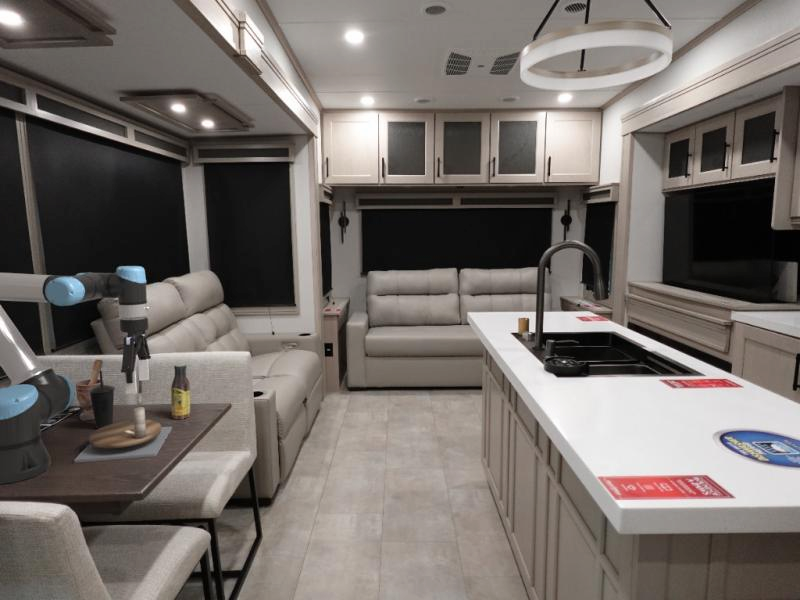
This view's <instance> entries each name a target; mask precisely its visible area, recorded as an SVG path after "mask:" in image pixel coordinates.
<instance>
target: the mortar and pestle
mask: <svg viewBox="0 0 800 600" xmlns="http://www.w3.org/2000/svg"><path fill="white" fill-rule="evenodd" d="M103 365H104V361H103V359H95V360H94V362H93V366H92V373H91V378H90V379H85V380H81V381H78V382H76V383H75V390H76V391H75V395H76V399H77V401H78V404H79V405H80V406H81V407H82V408H83V410H82V412H81V413H80V414H79V419H80V420H81V421H83V422H84V421H91V420H95V418H94V412H93V407H92V401H91V396H90V393H89V390H90V389H92V388H94V387H96V386H99V385H100V378H99V377H100V371H102V368H103ZM103 385H105V383H104V380H103Z"/></svg>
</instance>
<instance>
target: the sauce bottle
mask: <svg viewBox="0 0 800 600" xmlns="http://www.w3.org/2000/svg"><path fill="white" fill-rule="evenodd" d="M173 369H174V378H173V379H172V383H171V386H170V387H171V388H170V389H171V390H170V392H171V394H170V395H171V396H170V397H171V401H170V402H171V417H172V419H174V420H184V418H185V419H187V418H189V417H190V416H191V389H190V380H189V378H187V370H186V369H187V364H186V363H184V362H183V363H176V364H174V366H173Z"/></svg>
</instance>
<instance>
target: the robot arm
mask: <svg viewBox="0 0 800 600" xmlns="http://www.w3.org/2000/svg"><path fill="white" fill-rule="evenodd" d="M146 277H147V276H146V270H145V268H144V267H143V266H139V265H126V266H125V265H124V266H123V265H121V266H118V267H117V268H116V271H115V272H91V271H89V272H79V273H77V274H75V275H52V274H49V275H48V274H34V273H33V274H32V273H18V272H17V273H14V272H0V301H9V302H31V303H50V304H53V305H55V306H58V307H64V306H65V307H66V306H67V307H68V306H73V305H76V304H79V303H84V302H87V301H88V302H89V301H94V300H98V299H118V318H120V319H119V329H120V330H119V331H121V332H122V333H127V337H123V339H122V340H123V351H122V361H121V369H120V373H121V374H122V373H124V386H125V394H126V395H127V394H128V395H129V394H137V392H138V391H137V389H138V388H137V376H136V370H135V368H136V360H137V357H138V360H137V365H138V366H137V367H138V380H139V381H149V380H150V375H149V374H150V373H149V371H150V369H149V360H151V359H152V355H150V349H149V344H148V341H147V334H146V333H147V331H148V330H149V318H148V317H147V316H148V315H149V314H148V310H149V309H150V306H148V299H147V279H146ZM0 367H1V368H2V370H3V372H4V373H5V375H6V376H7V377H8V378H9V380H10V383H11V384H10V385H9V386H8V387H2V388H0V485H2V484H10V483H11V484H13V483H17V482H22V481H25V480H27V479H31V478H33V477H36V476H39V475H41V474H43V473H44V472H46V471H47V470H49V468H50V467H51V466H52V462H51V461H52V460H51V456H50V454H49V452H48V450H47V448H46V445H45V444H44V442H43V440H42V431H41V430H42V429H41V424H43V423H45V422H47V421H49V420H51V419H52V418H54V417H56V416H58V415H60V414H62V413H63V412H64V411H66V410H67V409H68V408H69V407H70V406H71V405H72V404H73V402H74V399H75V396H76V391H75V390H76V388H75V386H74V384H73V382H72V380H71V379H69V378H68V377H67V376H65V375H61V374H56V372H55V371H54V369H53V368H52V367H51V366H46V365H43V364H42V362H41V361H40V360H39V358H38V357H37V355H36V354H35V352H34V351H33V350H32V348H31V347H30V345H29V344H28V342H27V341H26V340H25V338H24V337H23V335H22V334H21V332H20V331H19V329H18V328H17V326H16V325H15V324H14V322H13V321H12V320H11V318H10V317H9V315H8V314H7V312H6V311H5V309H4V308H3V306H2V305H1V304H0Z"/></svg>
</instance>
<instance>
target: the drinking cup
mask: <svg viewBox="0 0 800 600" xmlns="http://www.w3.org/2000/svg"><path fill="white" fill-rule="evenodd" d="M99 380H100V385H99V386H96V387H94V388H92V389H90V390H89V393H90V396H91V401H92V407H93V412H94V418H95V419H94V422H95V428H96V429H95V430H98V429H100V428H102V427H104V426H107V425H110V424H114V422H113V419H114V416H113V415H114V396H115V388H116V387H115V386H113V385H109V384H104V385H103V381H104V380H103V371H102V370H101V371H100V373H99Z"/></svg>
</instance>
